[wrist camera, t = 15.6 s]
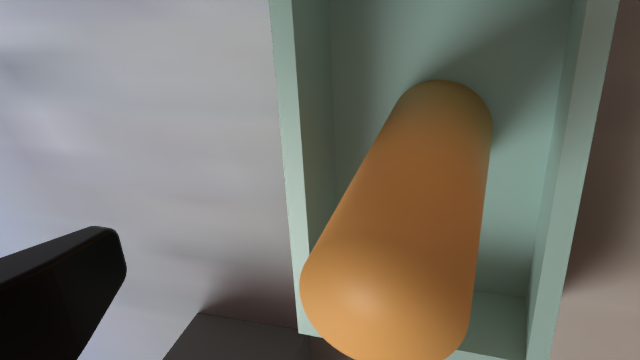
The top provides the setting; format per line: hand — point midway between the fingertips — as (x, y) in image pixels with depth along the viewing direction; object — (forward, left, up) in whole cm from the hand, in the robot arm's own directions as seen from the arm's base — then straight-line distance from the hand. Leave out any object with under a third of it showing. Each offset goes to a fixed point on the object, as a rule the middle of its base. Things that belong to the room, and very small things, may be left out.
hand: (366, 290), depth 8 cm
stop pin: (0, 0, -7) cm, 7 cm away
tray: (0, 0, -7) cm, 7 cm away
